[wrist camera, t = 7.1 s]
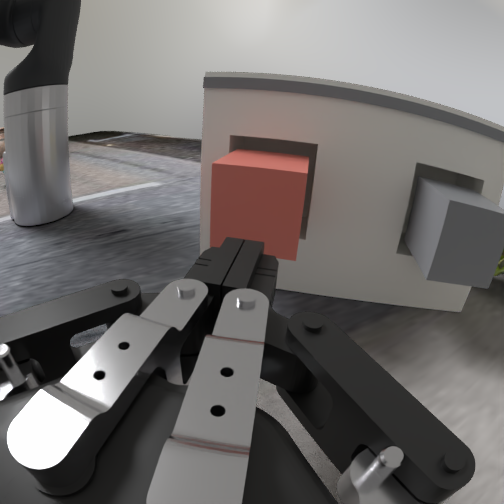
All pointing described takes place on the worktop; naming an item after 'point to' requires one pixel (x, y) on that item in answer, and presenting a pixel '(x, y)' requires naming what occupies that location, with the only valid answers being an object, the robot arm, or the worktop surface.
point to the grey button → (454, 233)
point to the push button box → (352, 176)
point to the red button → (259, 199)
